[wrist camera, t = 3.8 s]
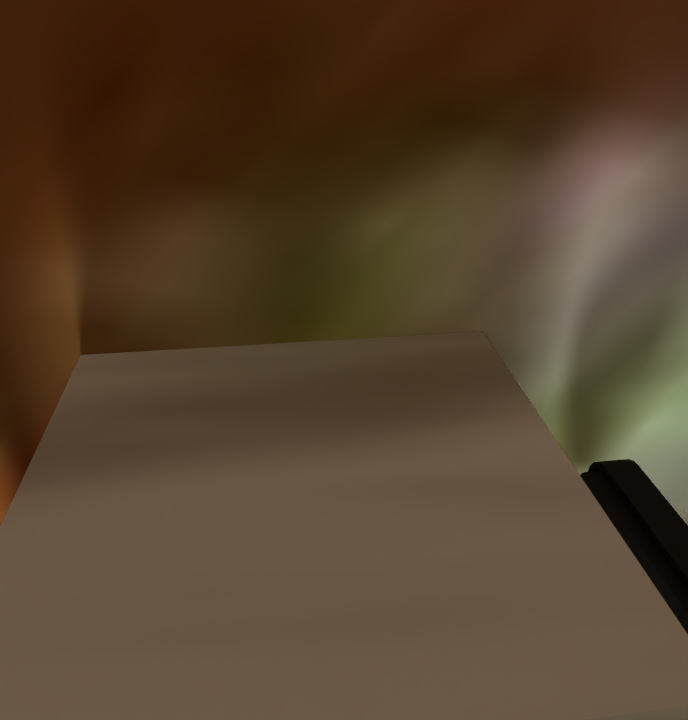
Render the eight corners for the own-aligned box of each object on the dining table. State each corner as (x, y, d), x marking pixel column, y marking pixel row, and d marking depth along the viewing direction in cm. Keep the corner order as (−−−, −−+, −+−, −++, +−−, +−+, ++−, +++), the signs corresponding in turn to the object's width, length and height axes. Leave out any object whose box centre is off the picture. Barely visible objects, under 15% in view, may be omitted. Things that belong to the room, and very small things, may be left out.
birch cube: (81, 352, 9) (-135, 813, 4) (480, 329, 10) (732, 699, 5) (146, 620, 12) (69, 1079, 7) (447, 589, 13) (578, 987, 8)
